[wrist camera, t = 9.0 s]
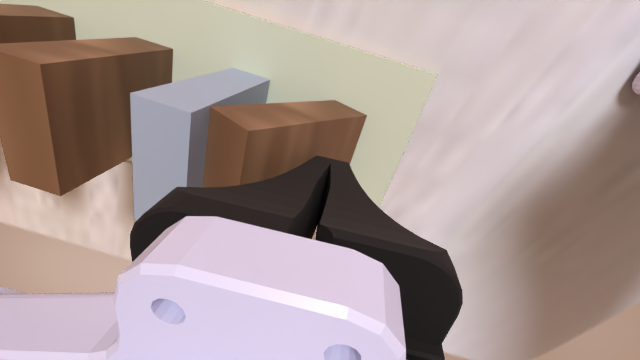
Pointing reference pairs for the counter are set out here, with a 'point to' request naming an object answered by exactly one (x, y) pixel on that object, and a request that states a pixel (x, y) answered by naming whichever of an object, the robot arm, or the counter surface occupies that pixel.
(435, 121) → the counter surface
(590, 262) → the counter surface
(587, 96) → the counter surface
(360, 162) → the mat
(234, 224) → the robot arm
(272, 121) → the tile
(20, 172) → the tile
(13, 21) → the tile
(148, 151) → the tile
